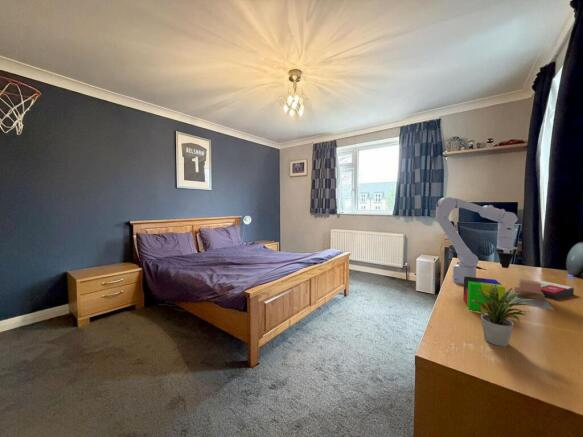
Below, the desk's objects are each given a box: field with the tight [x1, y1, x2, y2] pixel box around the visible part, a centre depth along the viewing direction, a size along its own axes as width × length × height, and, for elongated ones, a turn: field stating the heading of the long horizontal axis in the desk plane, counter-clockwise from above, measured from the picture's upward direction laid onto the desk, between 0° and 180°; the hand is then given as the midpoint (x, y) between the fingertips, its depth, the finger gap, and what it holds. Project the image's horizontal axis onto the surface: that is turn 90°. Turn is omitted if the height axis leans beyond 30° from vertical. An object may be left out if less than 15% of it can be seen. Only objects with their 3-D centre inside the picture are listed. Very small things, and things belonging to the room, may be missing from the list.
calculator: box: [537, 280, 575, 301], centre depth 105 cm, size 11×4×15 cm
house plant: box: [472, 283, 534, 347], centre depth 67 cm, size 14×14×16 cm
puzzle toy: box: [462, 276, 506, 313], centre depth 91 cm, size 10×10×10 cm
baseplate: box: [505, 290, 555, 311], centre depth 100 cm, size 20×16×1 cm
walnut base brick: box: [514, 286, 546, 301], centre depth 100 cm, size 8×6×2 cm
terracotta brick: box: [518, 278, 541, 294], centre depth 100 cm, size 6×4×4 cm, turn 53°
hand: (504, 266), depth 114 cm, fingers open, 7 cm apart
